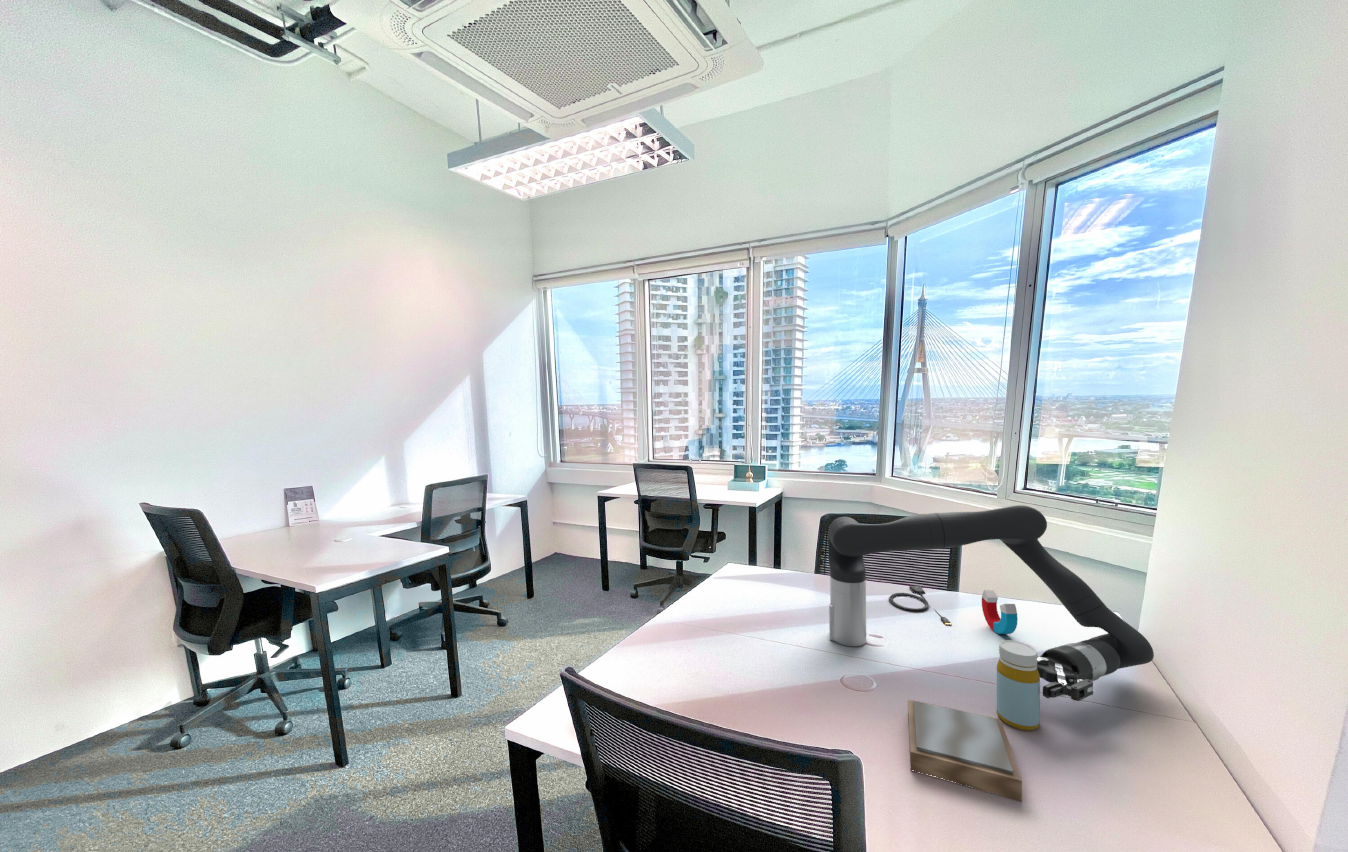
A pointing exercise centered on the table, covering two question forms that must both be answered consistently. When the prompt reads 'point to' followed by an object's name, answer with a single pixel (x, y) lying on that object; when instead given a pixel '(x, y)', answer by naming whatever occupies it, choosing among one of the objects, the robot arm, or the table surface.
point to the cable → (919, 591)
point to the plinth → (962, 749)
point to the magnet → (992, 618)
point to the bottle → (1018, 685)
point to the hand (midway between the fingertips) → (1021, 680)
